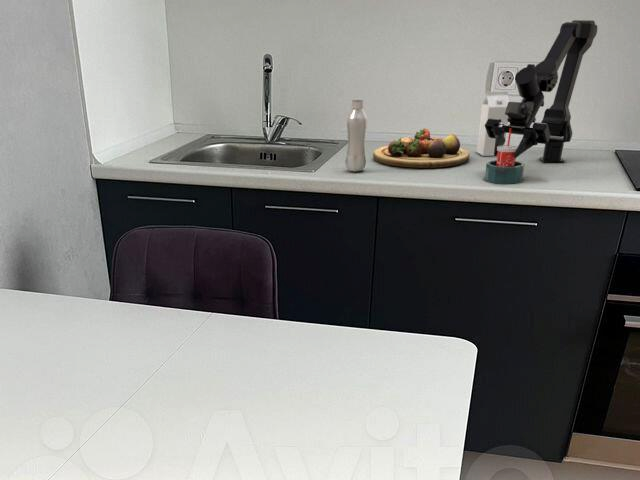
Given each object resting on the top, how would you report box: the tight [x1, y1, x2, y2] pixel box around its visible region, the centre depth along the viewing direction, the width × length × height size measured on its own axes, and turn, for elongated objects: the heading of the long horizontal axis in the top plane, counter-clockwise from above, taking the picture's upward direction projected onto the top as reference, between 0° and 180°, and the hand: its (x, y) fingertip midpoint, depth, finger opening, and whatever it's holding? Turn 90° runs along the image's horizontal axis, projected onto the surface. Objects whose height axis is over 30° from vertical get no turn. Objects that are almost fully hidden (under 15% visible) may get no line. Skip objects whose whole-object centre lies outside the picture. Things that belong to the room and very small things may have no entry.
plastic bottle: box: [345, 99, 368, 173], centre depth 226 cm, size 6×7×20 cm
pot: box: [484, 159, 526, 185], centre depth 216 cm, size 11×14×4 cm
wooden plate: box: [372, 128, 471, 169], centre depth 242 cm, size 32×32×8 cm
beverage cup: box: [496, 128, 518, 167], centre depth 214 cm, size 6×6×14 cm
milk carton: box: [476, 90, 510, 157], centre depth 244 cm, size 7×7×19 cm
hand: (504, 156), depth 213 cm, fingers closed on beverage cup, 6 cm apart
